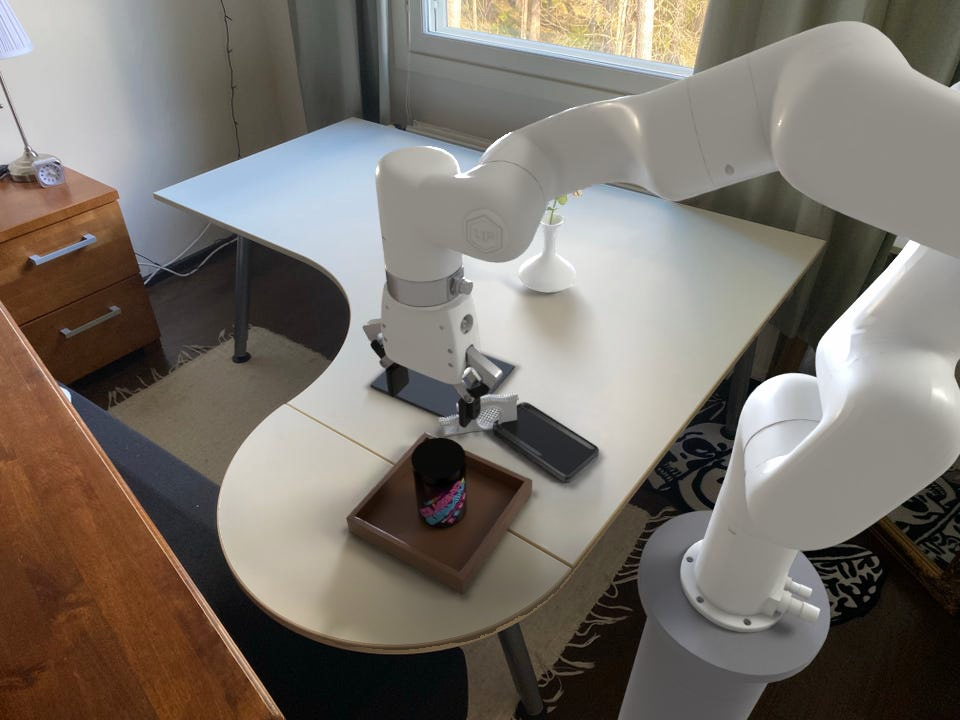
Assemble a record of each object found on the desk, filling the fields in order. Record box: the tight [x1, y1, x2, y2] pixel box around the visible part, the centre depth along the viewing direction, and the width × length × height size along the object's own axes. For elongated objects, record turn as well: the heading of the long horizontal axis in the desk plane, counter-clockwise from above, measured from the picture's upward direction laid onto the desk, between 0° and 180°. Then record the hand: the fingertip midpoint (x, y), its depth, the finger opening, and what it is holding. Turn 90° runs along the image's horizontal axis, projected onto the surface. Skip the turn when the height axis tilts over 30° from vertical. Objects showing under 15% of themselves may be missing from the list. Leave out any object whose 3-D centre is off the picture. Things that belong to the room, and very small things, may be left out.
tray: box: [345, 431, 533, 595], centre depth 88 cm, size 18×18×3 cm
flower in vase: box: [517, 189, 585, 293], centre depth 124 cm, size 13×11×25 cm
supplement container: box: [411, 437, 467, 529], centre depth 85 cm, size 7×7×10 cm
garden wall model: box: [438, 391, 520, 438], centre depth 99 cm, size 12×2×6 cm, turn 103°
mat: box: [370, 353, 516, 419], centre depth 110 cm, size 18×16×1 cm
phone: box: [492, 401, 600, 483], centre depth 98 cm, size 8×1×15 cm
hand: (433, 404), depth 76 cm, fingers open, 9 cm apart
